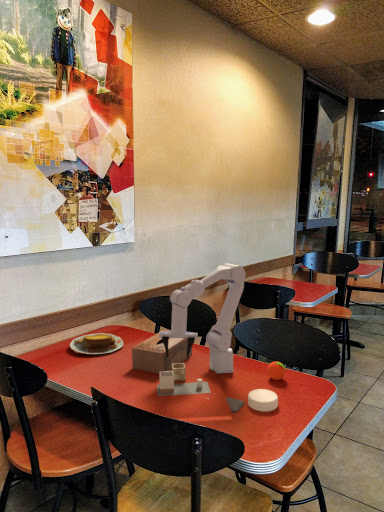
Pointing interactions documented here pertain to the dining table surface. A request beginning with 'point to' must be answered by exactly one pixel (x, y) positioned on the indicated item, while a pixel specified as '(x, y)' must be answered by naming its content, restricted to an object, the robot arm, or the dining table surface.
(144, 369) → the tissue box cover
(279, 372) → the clementine
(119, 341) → the food on plate
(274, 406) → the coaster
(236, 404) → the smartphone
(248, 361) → the dining table surface
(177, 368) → the birch sleeve
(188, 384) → the pin board
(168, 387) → the cream square cup
